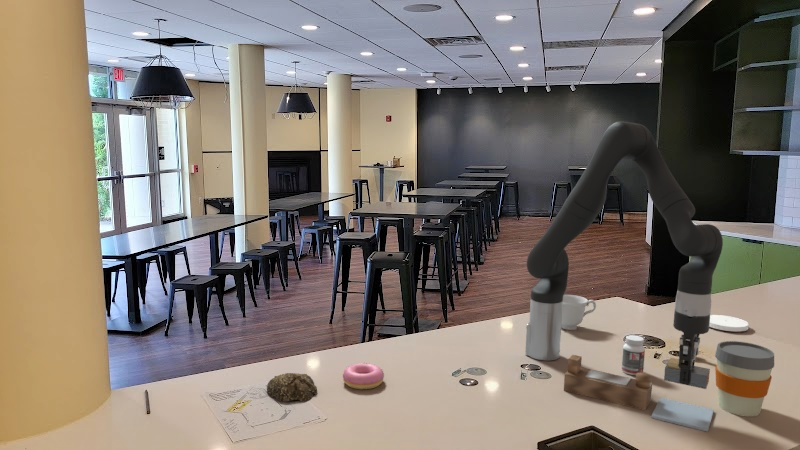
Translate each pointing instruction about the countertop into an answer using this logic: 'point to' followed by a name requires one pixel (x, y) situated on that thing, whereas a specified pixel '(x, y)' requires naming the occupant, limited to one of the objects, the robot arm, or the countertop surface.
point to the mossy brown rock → (291, 387)
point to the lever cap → (697, 374)
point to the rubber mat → (683, 414)
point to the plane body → (608, 385)
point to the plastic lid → (728, 323)
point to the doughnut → (363, 376)
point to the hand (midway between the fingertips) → (686, 379)
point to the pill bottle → (633, 355)
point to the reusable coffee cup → (743, 376)
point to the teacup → (574, 311)
